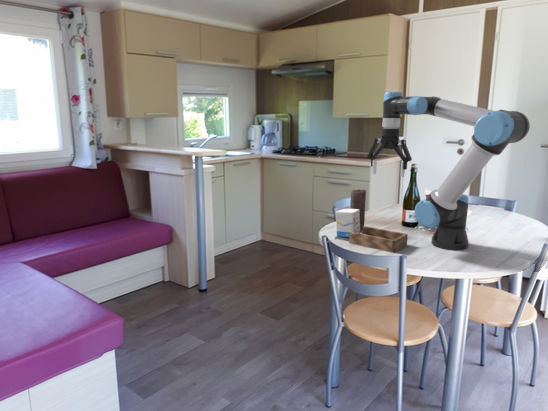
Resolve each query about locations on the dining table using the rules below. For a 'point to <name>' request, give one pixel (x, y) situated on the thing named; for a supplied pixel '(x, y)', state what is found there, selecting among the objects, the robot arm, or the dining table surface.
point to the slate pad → (343, 238)
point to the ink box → (347, 222)
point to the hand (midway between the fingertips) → (387, 175)
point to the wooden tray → (379, 239)
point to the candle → (359, 204)
